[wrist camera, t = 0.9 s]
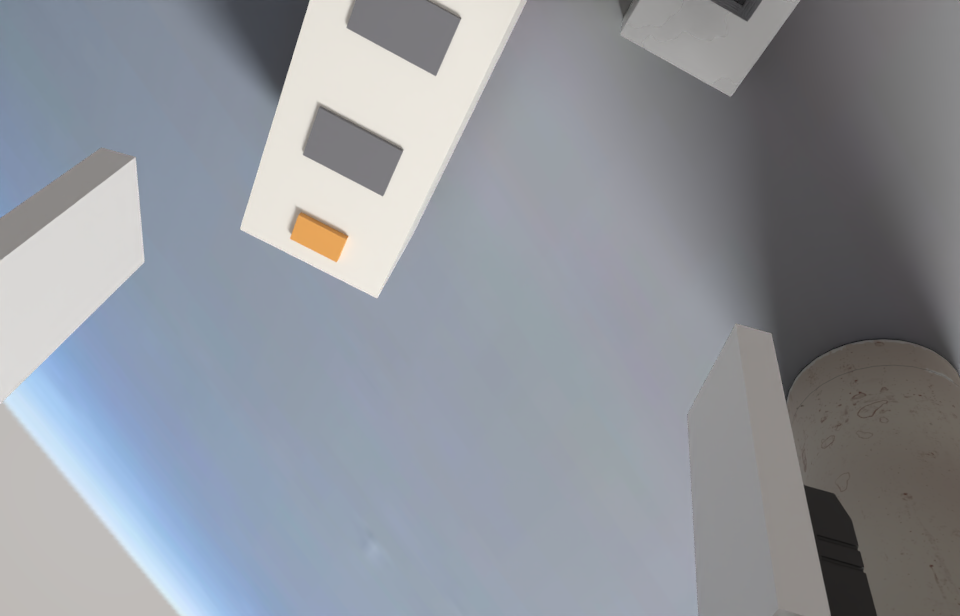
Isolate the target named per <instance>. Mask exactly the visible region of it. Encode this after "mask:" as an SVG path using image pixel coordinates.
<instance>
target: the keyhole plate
mask: <svg viewBox="0 0 960 616" xmlns="http://www.w3.org/2000/svg"><path fill="white" fill-rule="evenodd" d="M799 1H800V0H746V1H745V2H744V4H743V5H741V4H739V3H737V2H735V1H734V0H633V2H632V3H631V5H630V7H629V8H628V10H627V12H626V14H625V15H624V17H623V20H622V26H621V31H620V35H621V36H623V37H624V38H626V39H628V40H630V41H632V42H633V43H635V44H637V45H639V46H640V47H642V48H644V49H646V50H648V51H649V52H651V53H653V54H655V55H657V56H658V57H660V58H662V59H664V60H665V61H667V62H669V63H671V64H673V65H674V66H676V67H678V68H680V69H681V70H683V71H685V72H687V73H689V74H690V75H692V76H694V77H696V78H697V79H699V80H701V81H703V82H705V83H706V84H708V85H710V86H712V87H713V88H715V89H717V90H719V91H721V92H722V93H724V94H726V95H728V96H729V97H731V96H732V95H733V93H734V92H735V91H736V89H737V88H738V86H739V85H740V84H741V82H742V81H743V80H744V78H745V77H746V75H747V74H748V73H749V71H750V70H751V68H752V67H753V66H754V64H755V63H756V61H757V60H758V59H759V57H760V56H761V54H762V53H763V52H764V50H765V49H766V47H767V46H768V45H769V43H770V42H771V40H772V39H773V38H774V36H775V35H776V34H777V32H778V31H779V29H780V28H781V27H782V25H783V24H784V22H785V21H786V20H787V18H788V17H789V15H790V14H791V13H792V11H793V10H794V8H795V7H796V6H797V4H798V3H799Z"/></svg>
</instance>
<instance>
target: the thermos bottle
mask: <svg viewBox="0 0 960 616" xmlns="http://www.w3.org/2000/svg"><path fill="white" fill-rule="evenodd" d="M787 409H788V414H789V419H790V424H791V428H792V433H793V438H794V443H795V447H796V452H797V457H798V462H799V466H800V471H801V476H802V481H803V485H806V486H809V487H813V488H816V489H820V490H824V491H827V492H831V493H834V494H835V495H836V497H837V498H838V500H839V501H840V503H841V504H842V506H843V507H844V509H845V510H846V512H847V513H848V515H849V516H850V518H851V519H852V523H853V526H854V530H855V534H856V538H857V541H858V545H859V547H858V551H860V553H861V557H862V560H863V564H864V570H863V572H864V573H866V575H867V579H868V583H869V587H870V591H871V594H872V598H873V602H874V606H875V609H876V613H877V616H960V377H959V375H958V373H957V371H956V370H955V369H954V368H953V366H952V365H951V364H950V363H949V362H948V361H947V360H946V359H944V358H943V357H941V356H940V355H939V354H937V353H936V352H934V351H932V350H930V349H928V348H925V347H923V346H920V345H918V344H914V343H910V342H905V341H901V340H888V339H878V340H865V341H860V342H855V343H851V344H847V345H844V346H841V347H838V348H836V349H833V350H831V351H829V352H827V353H825V354H823V355H821V356H820V357H818V358H816V359H815V360H814V361H813V362H811V363H810V364H809V365H808V366H806V367H805V368H804V369H803V370H802V372H801V373H800V374H799V375H798V376H797V377H796V379H795V381H794V383H793V385H792V386H791V388H790V390H789V394H788V398H787Z"/></svg>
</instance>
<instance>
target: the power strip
mask: <svg viewBox="0 0 960 616" xmlns="http://www.w3.org/2000/svg"><path fill="white" fill-rule="evenodd" d="M526 2H527V0H310V1H309V5H308V8H307V11H306V14H305V18H304V21H303V24H302V27H301V31H300V34H299V37H298V41H297V44H296V47H295V50H294V54H293V57H292V60H291V64H290V67H289V70H288V73H287V77H286V80H285V83H284V86H283V90H282V93H281V96H280V100H279V103H278V106H277V109H276V113H275V116H274V119H273V123H272V126H271V129H270V132H269V136H268V139H267V142H266V146H265V149H264V152H263V155H262V159H261V162H260V165H259V168H258V172H257V175H256V178H255V182H254V185H253V188H252V191H251V195H250V198H249V201H248V205H247V208H246V211H245V214H244V218H243V221H242V224H241V228H240V230H242V231H244V232H246V233H248V234H250V235H252V236H254V237H256V238H258V239H260V240H262V241H264V242H266V243H268V244H270V245H272V246H274V247H276V248H278V249H280V250H282V251H284V252H286V253H288V254H290V255H292V256H294V257H296V258H298V259H300V260H302V261H304V262H306V263H308V264H310V265H312V266H314V267H316V268H318V269H320V270H322V271H324V272H326V273H328V274H330V275H332V276H334V277H336V278H338V279H340V280H342V281H343V282H345V283H347V284H349V285H351V286H353V287H355V288H357V289H359V290H361V291H363V292H365V293H367V294H369V295H371V296H373V297H375V298H378V296H379V294H380V293H381V291H382V289H383V287H384V285H385V284H386V282H387V280H388V278H389V276H390V275H391V273H392V271H393V269H394V268H395V266H396V264H397V262H398V260H399V259H400V257H401V255H402V253H403V251H404V250H405V248H406V246H407V244H408V242H409V241H410V239H411V237H412V235H413V234H414V232H415V229H416V227H417V225H418V223H419V221H420V219H421V217H422V215H423V213H424V211H425V209H426V207H427V205H428V203H429V201H430V199H431V197H432V195H433V193H434V191H435V188H436V186H437V184H438V182H439V180H440V178H441V176H442V174H443V172H444V170H445V168H446V166H447V164H448V162H449V160H450V158H451V156H452V154H453V152H454V150H455V147H456V145H457V143H458V141H459V139H460V137H461V135H462V133H463V131H464V129H465V127H466V125H467V123H468V121H469V119H470V117H471V115H472V113H473V111H474V109H475V106H476V104H477V102H478V100H479V98H480V96H481V94H482V92H483V90H484V88H485V86H486V84H487V82H488V80H489V78H490V76H491V74H492V72H493V70H494V68H495V65H496V63H497V61H498V59H499V57H500V55H501V53H502V51H503V49H504V47H505V45H506V43H507V41H508V39H509V37H510V35H511V33H512V31H513V29H514V27H515V24H516V22H517V20H518V18H519V16H520V14H521V12H522V10H523V8H524V6H525V4H526Z"/></svg>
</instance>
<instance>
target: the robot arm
mask: <svg viewBox="0 0 960 616" xmlns="http://www.w3.org/2000/svg"><path fill="white" fill-rule="evenodd" d="M143 263H144V250H143V238H142V226H141V215H140V203H139V191H138V179H137V167H136V157H134V156H130V155H126V154H123V153H119V152H116V151H112V150H108V149H105V148H100V149H99V150H97V151H96V152H94V153H93V154H91V155H90V156H89V157H87V158H86V159H84V160H83V161H81V162H80V163H79V164H77V165H76V166H74V167H73V168H71V169H70V170H69V171H67V172H66V173H64V174H63V175H61V176H60V177H59V178H57V179H56V180H54V181H53V182H51V183H50V184H49V185H47V186H46V187H44V188H43V189H41V190H40V191H39V192H37V193H36V194H34V195H33V196H31V197H30V198H29V199H27V200H26V201H24V202H23V203H21V204H20V205H19V206H17V207H16V208H14V209H13V210H11V211H10V212H9V213H7V214H6V215H4V216H3V217H1V218H0V404H1V403H2V402H3V401H4V400H5V399H6V398H7V397H8V396H9V395H10V394H11V393H12V392H13V391H14V390H15V389H16V388H17V387H18V386H19V385H20V384H21V383H22V382H23V381H24V380H25V379H26V378H27V377H28V376H29V375H30V374H31V373H32V372H33V371H34V370H35V369H36V368H37V367H38V366H39V365H40V364H42V363H43V362H44V361H45V360H46V359H47V358H48V357H49V356H50V355H51V354H52V353H53V352H54V351H55V350H56V349H57V348H58V347H59V346H60V345H61V344H62V343H63V342H64V341H65V340H66V339H67V338H68V337H69V336H70V335H71V334H72V333H73V332H74V331H75V330H76V329H77V328H78V327H79V326H80V325H81V324H82V323H83V322H84V321H85V320H86V319H87V318H88V317H89V316H90V315H91V314H92V313H93V312H94V311H95V310H96V309H97V308H98V307H99V306H100V305H101V304H102V303H103V302H104V301H105V300H106V299H107V298H109V297H110V296H111V295H112V294H113V293H114V292H115V291H116V290H117V289H118V288H119V287H120V286H121V285H122V284H123V283H124V282H125V281H126V280H127V279H128V278H129V277H130V276H131V275H132V274H133V273H134V272H135V271H136V270H137V269H138V268H139V267H140V266H141V265H142V264H143ZM687 418H688V437H689V455H690V473H691V491H692V509H693V528H694V546H695V564H696V582H697V600H698V616H877V613H876V609H875V606H874V602H873V598H872V594H871V591H870V587H869V583H868V579H867V575H866V573H864V572H863V570H864V564H863V560H862V557H861V553H860V551H858V547H859V545H858V541H857V538H856V534H855V530H854V526H853V523H852V519H851V518H850V516H849V515H848V513H847V512H846V510H845V509H844V507H843V506H842V504H841V503H840V501H839V500H838V498H837V497H836V495H835V494H834V493H831V492H827V491H824V490H820V489H816V488H813V487H809V486H806V485H803V481H802V476H801V471H800V466H799V462H798V457H797V452H796V447H795V443H794V438H793V433H792V428H791V424H790V419H789V414H788V409H787V405H786V400H785V395H784V390H783V386H782V381H781V376H780V371H779V366H778V362H777V357H776V352H775V347H774V343H773V338H772V333H768V332H765V331H761V330H758V329H754V328H750V327H747V326H743V325H740V324H735V326H734V328H733V330H732V331H731V333H730V335H729V337H728V339H727V341H726V343H725V345H724V346H723V348H722V350H721V352H720V354H719V356H718V358H717V360H716V361H715V363H714V365H713V367H712V369H711V371H710V373H709V375H708V376H707V378H706V380H705V382H704V384H703V386H702V388H701V390H700V391H699V393H698V395H697V397H696V399H695V401H694V403H693V405H692V407H691V408H690V410H689V412H688V414H687Z"/></svg>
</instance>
